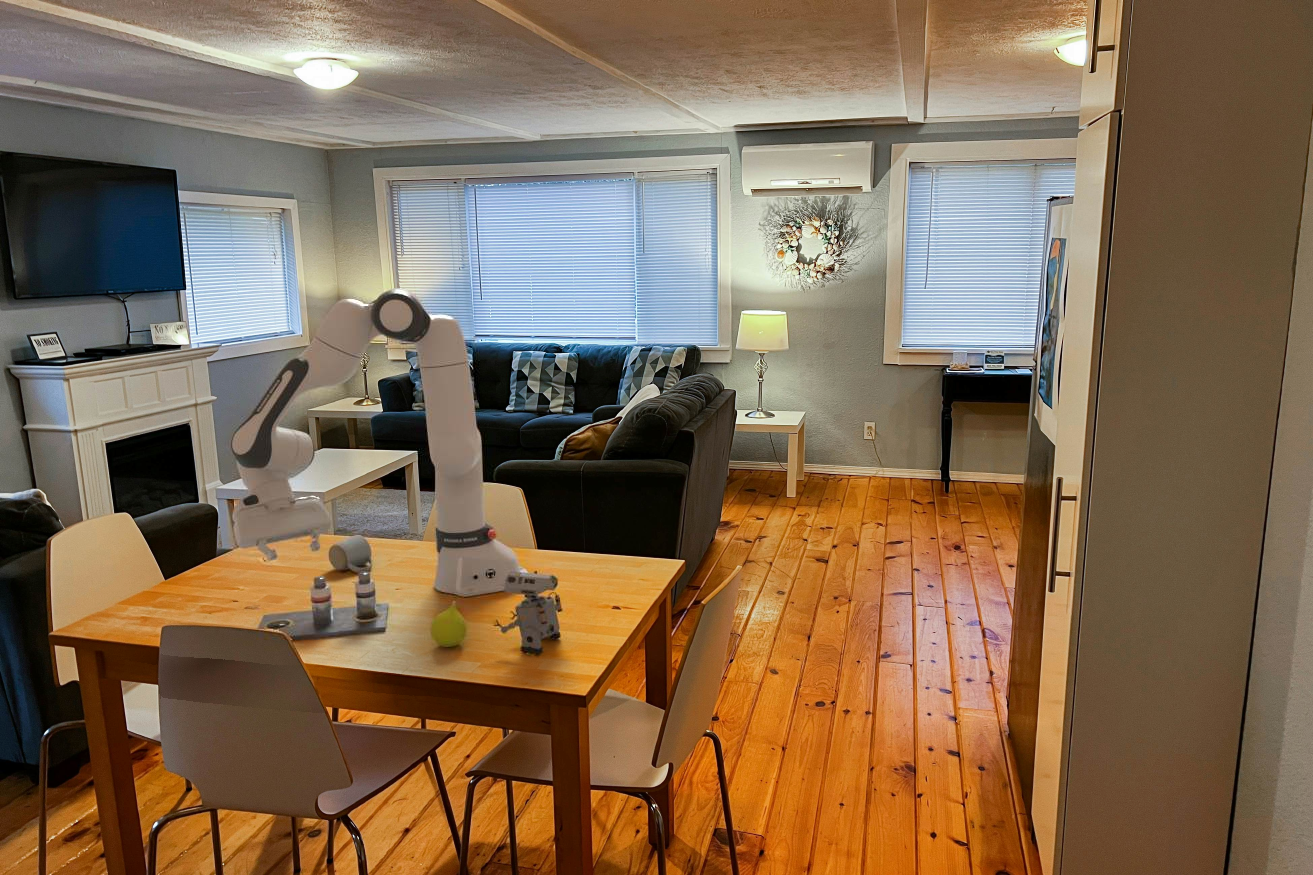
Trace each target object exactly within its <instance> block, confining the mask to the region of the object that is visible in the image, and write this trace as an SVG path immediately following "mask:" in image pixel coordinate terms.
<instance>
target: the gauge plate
mask: <svg viewBox="0 0 1313 875" xmlns="http://www.w3.org/2000/svg"><path fill="white" fill-rule="evenodd" d="M376 608H377V616H376V617H374V618H371V619H359V618H358V616H357V605H354V606H344V607H334V608H333V607H332V611H333V621H332V622H330V623H326V624H315V623H313V613H312V609H311V610H302V611H300V610H299V611H291V612H280V613H270V614H269V613H268V614H263V616H262V618H261V620H260V622H259V624H258V627H257V629H273V630H279V631H282V632H284V633H286V634H287V635H288V636H289V637H290V638H291V639H292V641H293V642H294V641H302V640H301V639H304V640H310V639H311V638H312V639H311V640H313V638H314V639H323V638H331V637H332V638H333V637H341V636H351V635H361V634H363V635H364V634H371V633H373V634H374V633H380V632H382V633H383V632H386V628H387V621H388V614H389V613H388V612H389V602H386V603H385V602H384V603H376ZM257 629H256V630H257ZM292 641H291V642H292Z"/></svg>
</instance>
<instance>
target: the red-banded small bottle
mask: <svg viewBox="0 0 1313 875" xmlns="http://www.w3.org/2000/svg"><path fill="white" fill-rule="evenodd" d="M309 589H310V602H311V610H312V613H313V623H315V624H326V623H330V622H332V621H333V611H332V608H333V602H332V599H333V597H332V590H331V585H330V584H328V583H327V580H326V576H323V575H322V576H321V575H319V576H316V577H313V585H312V586H311V587H310V588H309Z"/></svg>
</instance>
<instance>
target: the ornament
mask: <svg viewBox="0 0 1313 875" xmlns="http://www.w3.org/2000/svg"><path fill="white" fill-rule="evenodd" d="M457 596H458V595H457ZM457 596H456V595H455V600H453V601H452V604H451V606H450V607H449V608H448V609H446V610H444V611H442V612H440V613H438V614H437V615H436V616H435V617H434V619H432V621H431V625H430V635H431V638H432V639H433V641H434V642H435V643H436V644H437V645H438V646H441V647H444V648H452V647H455V646H457V645H459V644H460V643H461V642H462V641H463V640H464V639H465V637H466V636H467V631H468V626H467V622H466V620H465V618H464V617H463V616H462V614H461V613H460V612H459V611H458V609H457V607H456V603H457V601H456V598H457Z"/></svg>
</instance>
